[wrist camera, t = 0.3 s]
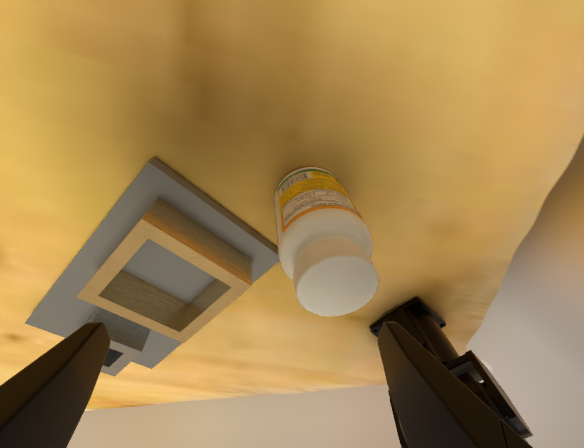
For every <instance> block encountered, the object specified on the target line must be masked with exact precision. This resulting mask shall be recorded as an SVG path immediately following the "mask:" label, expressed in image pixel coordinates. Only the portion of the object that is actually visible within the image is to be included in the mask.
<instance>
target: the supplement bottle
mask: <svg viewBox="0 0 584 448" xmlns="http://www.w3.org/2000/svg"><path fill="white" fill-rule="evenodd" d="M274 207H275V218H276V229H277V242H278V254H279V260H280V263H281V266H282V268H283V270H284V272H285V273H286V274H287V275H288V277H289V278H290V279H292V280H293V282H294V285H295V291H296V296H297V298H298V301H299V302H300V304H301V305H302V306H303V307H304V308H305V309H306V310H308V311H309V312H312V313H314V314H317V315H321V316H340V315H345V314H349V313H351V312H354V311H356V310H358V309H360V308H361V307H363V306H364V305H365V304H366V303H368V302H369V301H370V300H371V299H372V297H373V296H374V294H375V293H376V290H377V288H378V282H379V280H378V274H377V271H376V269H375V267H374V264H373V262H372V260H371V258H370V257H371V254H372V238H371V234H370V231H369V229H368V227H367V226H366V224H365V222H364V221H363V219H362V217H361V216H360V214H359V213H358V211H357V210H356V208H355V206H354V205H353V203H352V202H351V200H350V198H349V197H348V195H347V193H346V192H345V190H344V189H343V187H342V186H341V184H340V182H339V181H338V180H337V178H336V177H335V176H334V175H333V174H332V173H330V172H329V171H327V170H325V169H322V168H317V167H305V168H301V169H298V170H295V171H293V172H291V173H290V174H288V175H287V176H286V177H285V178H284V179H283V180H282V181H281V182H280V184H279V185H278V187H277V190H276V192H275V198H274Z"/></svg>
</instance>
